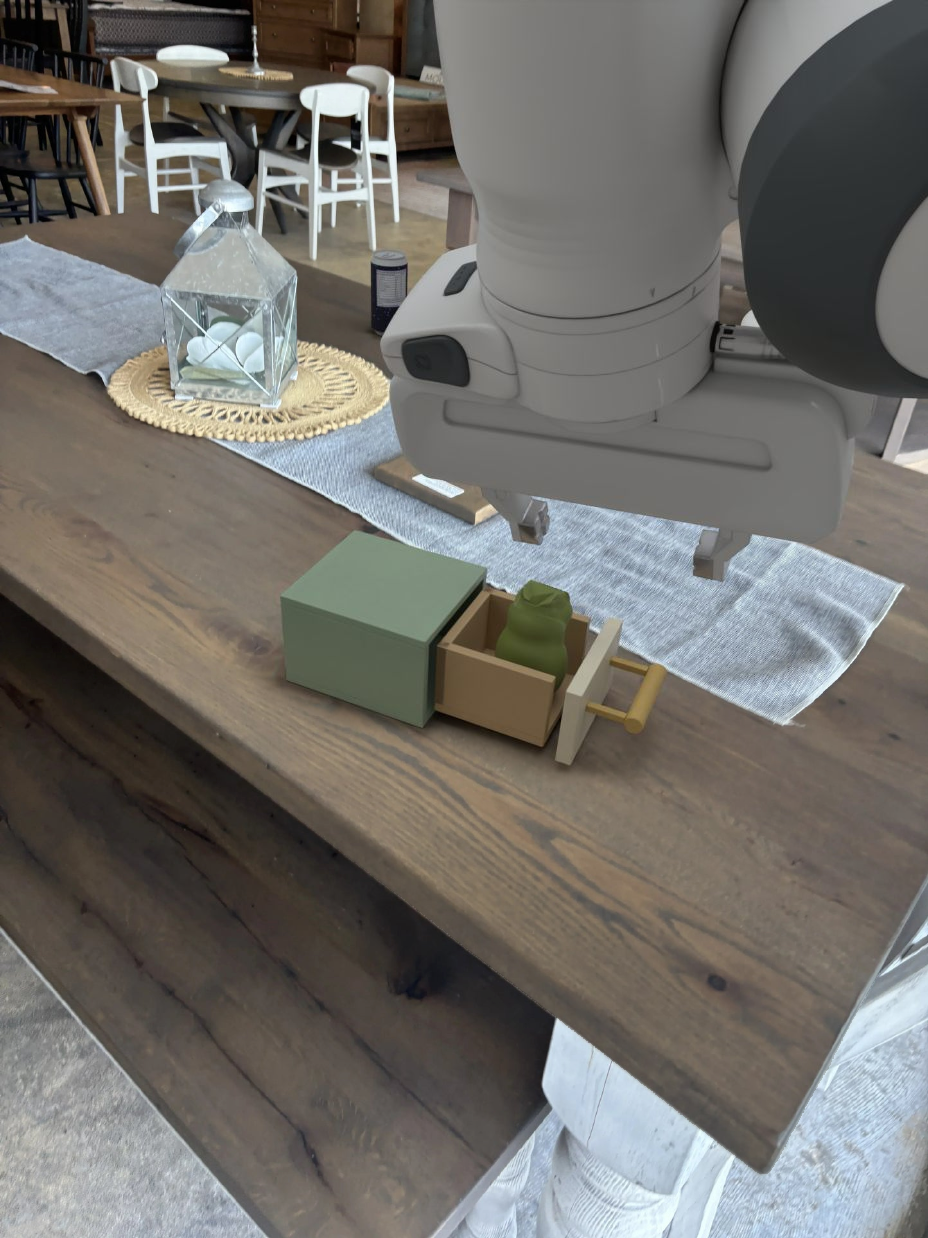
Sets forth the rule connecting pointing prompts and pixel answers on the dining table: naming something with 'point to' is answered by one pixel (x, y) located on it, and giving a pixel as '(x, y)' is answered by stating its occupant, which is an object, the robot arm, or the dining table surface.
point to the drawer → (535, 679)
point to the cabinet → (376, 623)
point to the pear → (537, 630)
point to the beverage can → (387, 287)
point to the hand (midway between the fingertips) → (618, 551)
